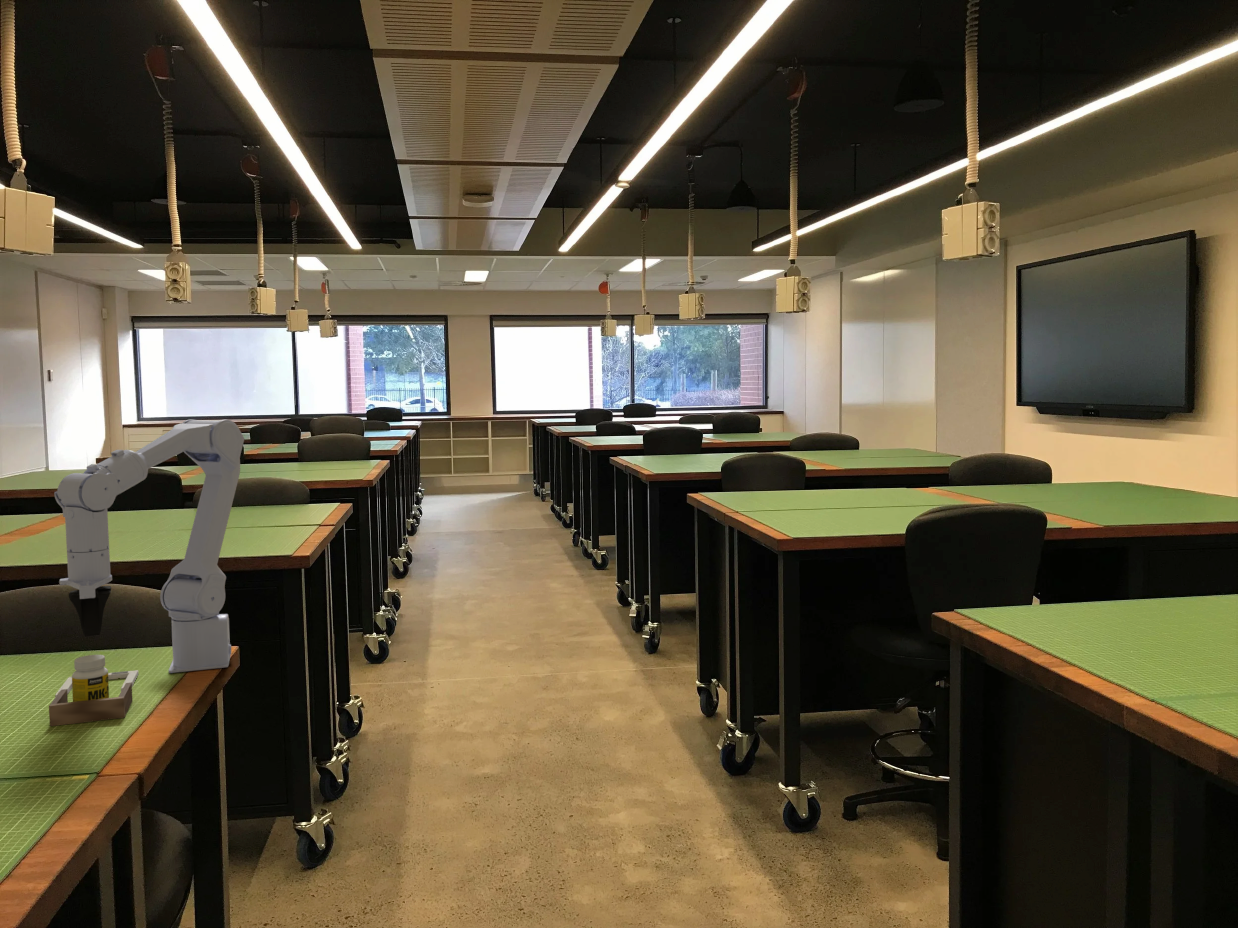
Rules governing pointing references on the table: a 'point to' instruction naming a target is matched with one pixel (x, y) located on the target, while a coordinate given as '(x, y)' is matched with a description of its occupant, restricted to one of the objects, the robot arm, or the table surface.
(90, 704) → the holder
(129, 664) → the table surface
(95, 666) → the supplement bottle
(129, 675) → the dock
